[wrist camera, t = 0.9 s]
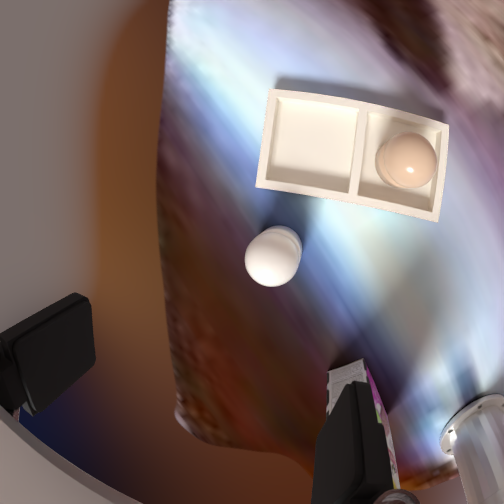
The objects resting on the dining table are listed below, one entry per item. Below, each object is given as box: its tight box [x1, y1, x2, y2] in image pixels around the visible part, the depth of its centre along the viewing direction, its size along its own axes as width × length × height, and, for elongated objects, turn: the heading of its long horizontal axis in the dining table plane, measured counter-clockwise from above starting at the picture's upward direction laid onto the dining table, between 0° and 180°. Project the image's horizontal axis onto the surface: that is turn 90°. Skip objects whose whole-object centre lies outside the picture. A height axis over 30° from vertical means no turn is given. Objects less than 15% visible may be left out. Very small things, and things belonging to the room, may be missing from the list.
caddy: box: [256, 89, 449, 223], centre depth 25 cm, size 18×10×2 cm, turn 83°
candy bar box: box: [326, 358, 400, 489], centre depth 23 cm, size 11×5×16 cm, turn 29°
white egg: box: [245, 225, 302, 286], centre depth 26 cm, size 5×5×7 cm
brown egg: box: [375, 132, 437, 188], centre depth 21 cm, size 5×5×7 cm
